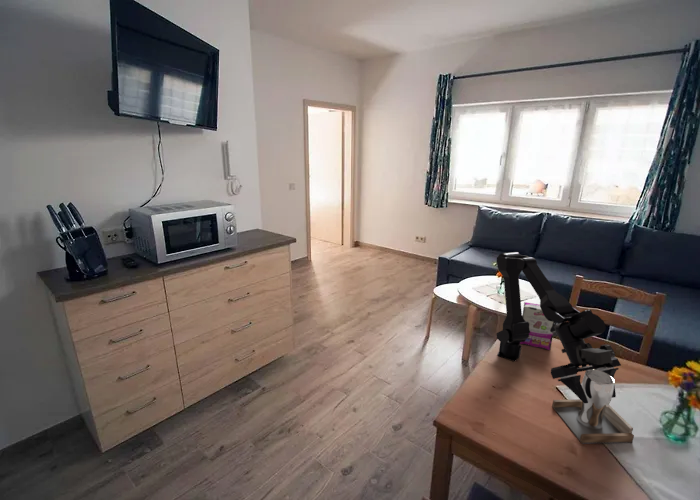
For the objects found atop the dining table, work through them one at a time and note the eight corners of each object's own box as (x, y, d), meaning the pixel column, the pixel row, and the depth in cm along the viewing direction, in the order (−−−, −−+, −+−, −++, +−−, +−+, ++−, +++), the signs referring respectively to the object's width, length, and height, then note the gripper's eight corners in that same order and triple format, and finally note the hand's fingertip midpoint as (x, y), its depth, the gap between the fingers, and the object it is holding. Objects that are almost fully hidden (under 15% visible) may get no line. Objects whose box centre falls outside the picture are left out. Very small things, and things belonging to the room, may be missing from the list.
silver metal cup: (585, 409, 100) (596, 366, 95) (610, 427, 93) (622, 381, 89) (568, 415, 97) (578, 371, 93) (592, 434, 91) (603, 388, 87)
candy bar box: (550, 344, 134) (556, 306, 129) (550, 350, 129) (557, 312, 125) (518, 337, 139) (524, 301, 134) (518, 343, 134) (523, 306, 130)
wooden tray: (581, 443, 89) (584, 431, 88) (552, 406, 102) (554, 395, 100) (632, 442, 89) (635, 430, 88) (596, 405, 102) (598, 394, 101)
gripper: (566, 340, 89) (595, 403, 82) (622, 331, 94) (654, 391, 86) (539, 349, 99) (563, 407, 92) (591, 341, 103) (618, 395, 96)
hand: (600, 400), depth 91 cm, fingers open, 9 cm apart
